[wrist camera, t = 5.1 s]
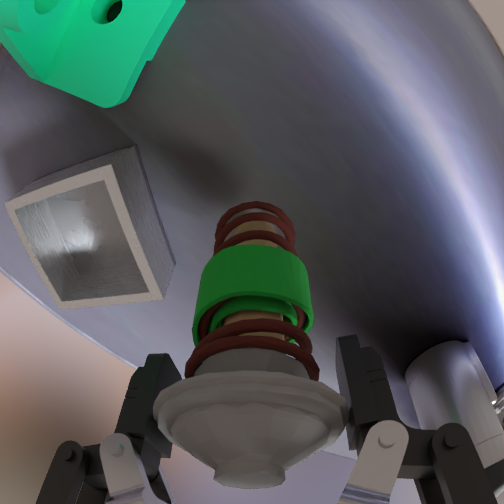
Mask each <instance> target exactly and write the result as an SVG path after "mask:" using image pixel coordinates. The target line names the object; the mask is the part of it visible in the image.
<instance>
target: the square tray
mask: <svg viewBox="0 0 504 504" xmlns="http://www.w3.org/2000/svg"><path fill="white" fill-rule="evenodd" d="M4 204H5V206H6V209H7V211H8V213H9V216H10V218H11V220H12V222H13V225H14V227H15V229H16V231H17V233H18V235H19V237H20V239H21V241H22V243H23V245H24V247H25V249H26V251H27V253H28V255H29V257H30V259H31V261H32V263H33V265H34V266H35V268H36V270H37V272H38V274H39V275H40V277H41V279H42V281H43V282H44V284H45V286H46V288H47V289H48V291H49V293H50V294H51V296H52V298H53V299H54V301H55V302H56V304H57V306H58V307H59V309H70V308H82V307H94V306H105V305H116V304H127V303H137V302H146V301H156V300H164V297H165V294H166V291H167V288H168V285H169V282H170V279H171V276H172V273H173V271H174V268H175V265H176V262H175V260H174V257H173V254H172V251H171V249H170V246H169V243H168V240H167V237H166V235H165V232H164V229H163V226H162V223H161V220H160V217H159V214H158V211H157V208H156V205H155V202H154V199H153V196H152V193H151V190H150V187H149V184H148V180H147V177H146V174H145V171H144V168H143V164H142V161H141V158H140V154H139V151H138V147H137V145H134V146H130V147H127V148H124V149H120V150H117V151H114V152H111V153H107V154H104V155H101V156H98V157H95V158H92V159H89V160H86V161H84V162H81V163H78V164H75V165H72V166H70V167H67V168H64V169H62V170H59V171H56V172H54V173H51V174H49V175H46V176H44V177H41V178H39V179H36V180H34V181H33V182H32V183H30V184H29V185H28V186H26V187H25V188H23V189H22V190H21V191H19V192H18V193H17V194H15V195H14V196H13V197H11V198H10V199H9V200H8V201H6V202H5V203H4Z"/></svg>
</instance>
